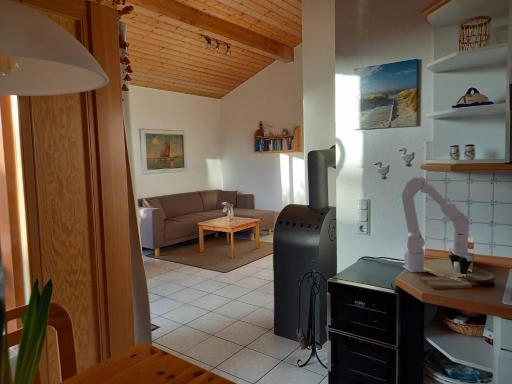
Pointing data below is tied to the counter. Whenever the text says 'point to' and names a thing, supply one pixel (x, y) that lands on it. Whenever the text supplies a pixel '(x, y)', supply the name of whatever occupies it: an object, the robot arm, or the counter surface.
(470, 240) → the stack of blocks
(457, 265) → the cylinder
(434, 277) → the board
